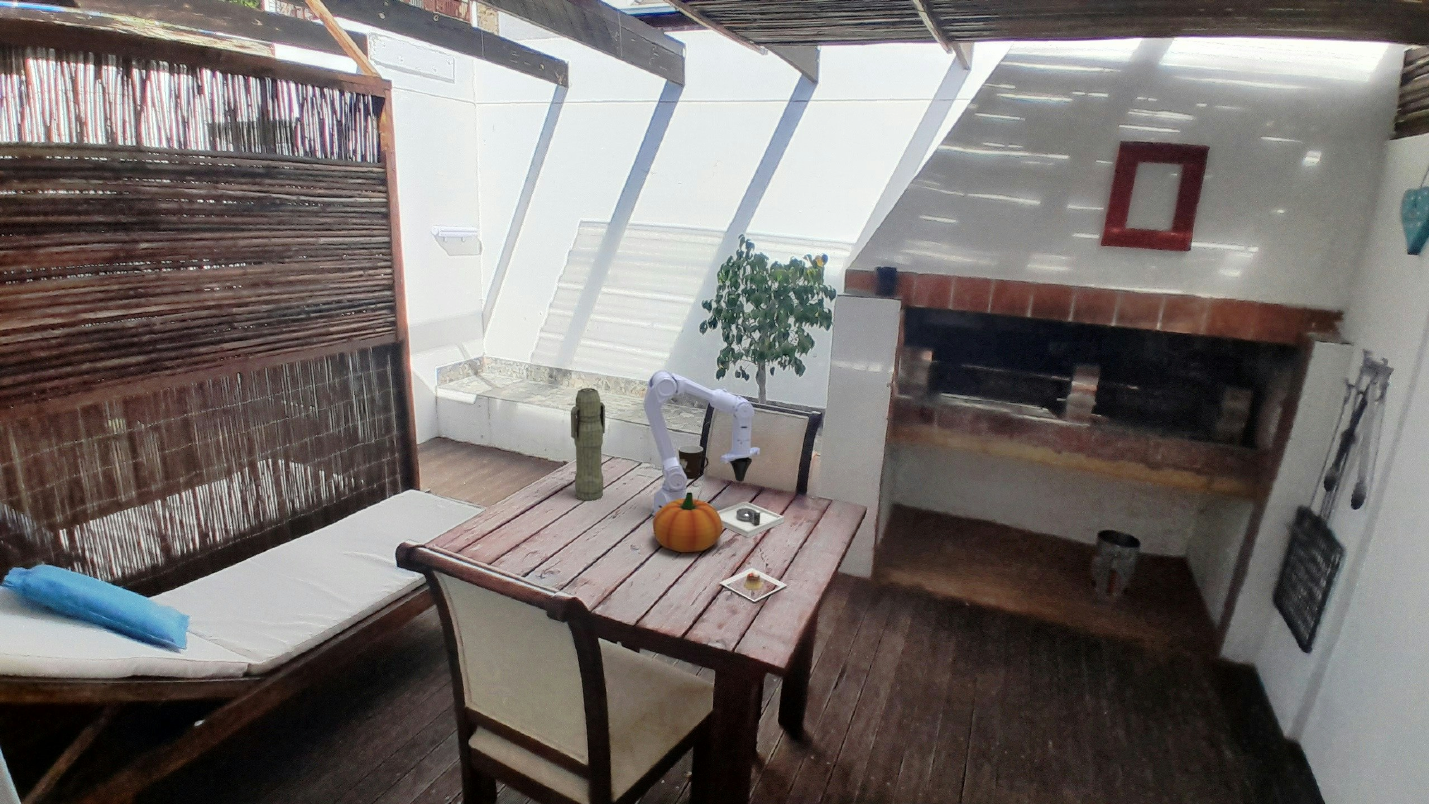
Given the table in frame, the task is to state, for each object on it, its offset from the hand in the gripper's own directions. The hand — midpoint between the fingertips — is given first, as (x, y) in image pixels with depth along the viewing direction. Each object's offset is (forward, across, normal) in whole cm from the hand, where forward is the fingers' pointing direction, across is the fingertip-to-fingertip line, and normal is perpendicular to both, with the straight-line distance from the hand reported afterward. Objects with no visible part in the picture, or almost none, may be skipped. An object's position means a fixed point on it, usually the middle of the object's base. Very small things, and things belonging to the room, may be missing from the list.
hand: (739, 480), depth 220 cm
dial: (+8, +4, +9) cm, 13 cm away
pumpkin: (+10, +27, +7) cm, 30 cm away
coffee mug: (+10, -7, -31) cm, 34 cm away
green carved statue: (+10, +30, -38) cm, 50 cm away
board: (+10, +4, +7) cm, 13 cm away
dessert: (+11, +30, +36) cm, 48 cm away
